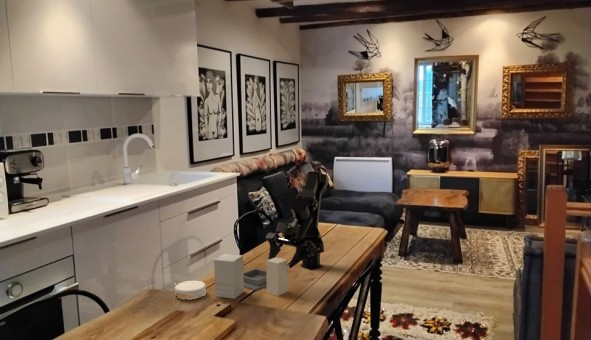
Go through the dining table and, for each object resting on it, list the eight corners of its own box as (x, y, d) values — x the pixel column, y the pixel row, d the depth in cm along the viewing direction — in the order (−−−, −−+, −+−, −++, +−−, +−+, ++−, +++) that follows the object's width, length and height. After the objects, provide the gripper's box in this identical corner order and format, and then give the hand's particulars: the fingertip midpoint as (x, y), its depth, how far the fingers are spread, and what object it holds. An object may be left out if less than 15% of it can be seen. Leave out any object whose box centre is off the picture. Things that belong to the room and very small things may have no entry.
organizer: (257, 272, 178) (257, 265, 178) (281, 279, 171) (281, 272, 171) (230, 282, 168) (230, 275, 167) (255, 290, 160) (254, 283, 160)
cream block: (276, 288, 162) (276, 257, 161) (287, 291, 159) (287, 259, 158) (266, 292, 159) (266, 260, 157) (277, 296, 155) (277, 263, 154)
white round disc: (191, 303, 150) (190, 292, 149) (168, 297, 155) (168, 286, 155) (212, 293, 158) (212, 283, 158) (190, 287, 163) (190, 278, 163)
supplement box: (244, 291, 159) (244, 255, 158) (234, 299, 152) (234, 261, 151) (224, 288, 162) (224, 253, 160) (214, 296, 155) (213, 259, 153)
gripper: (268, 209, 167) (247, 247, 159) (311, 216, 155) (289, 257, 148) (283, 227, 174) (263, 264, 166) (324, 235, 162) (305, 275, 155)
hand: (279, 264), depth 159 cm, fingers open, 9 cm apart
